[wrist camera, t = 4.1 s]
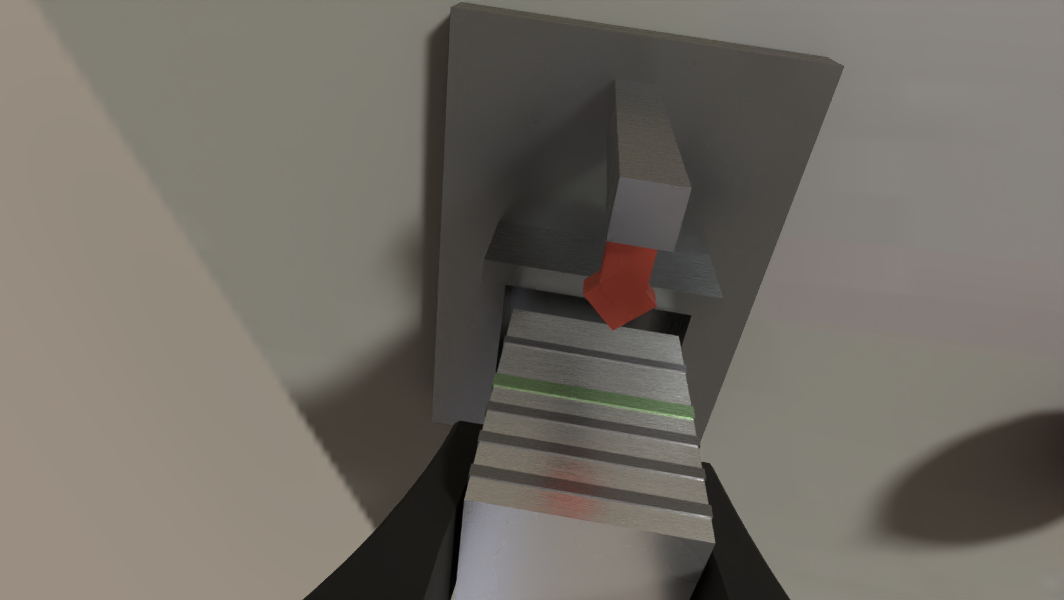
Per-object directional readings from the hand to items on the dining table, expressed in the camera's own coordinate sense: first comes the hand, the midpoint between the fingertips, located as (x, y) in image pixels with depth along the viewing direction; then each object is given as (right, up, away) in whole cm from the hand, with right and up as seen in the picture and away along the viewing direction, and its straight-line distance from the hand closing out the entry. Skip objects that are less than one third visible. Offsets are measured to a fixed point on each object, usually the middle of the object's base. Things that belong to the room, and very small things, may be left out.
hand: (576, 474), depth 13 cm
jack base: (+1, +5, +5) cm, 7 cm away
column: (0, +1, +2) cm, 3 cm away
